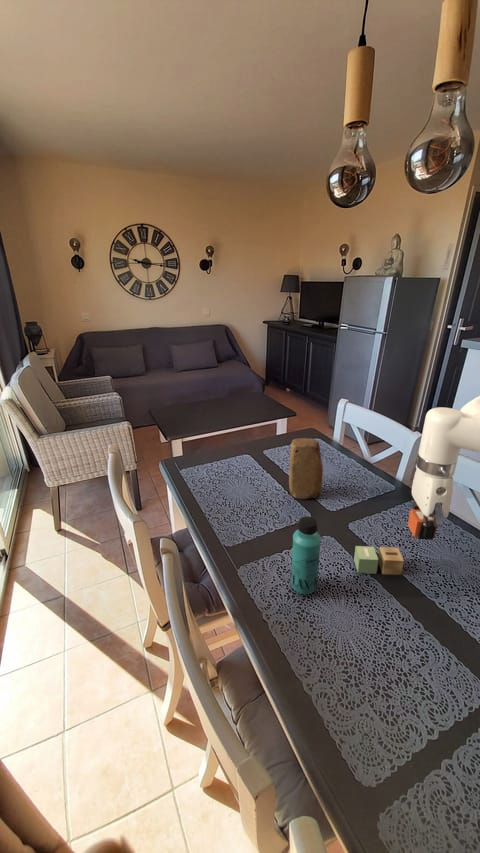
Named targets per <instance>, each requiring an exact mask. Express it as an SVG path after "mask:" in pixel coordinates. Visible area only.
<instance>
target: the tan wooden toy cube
mask: <svg viewBox="0 0 480 853" xmlns="http://www.w3.org/2000/svg"><path fill="white" fill-rule="evenodd" d="M378 548H379V549H378V555H377V557H378V567H379V569H380V572H381V574H382V575H391V576H393V575H394V576H402V573H403V569H404V568H403V567H404V563H405V561H404V560H405V559H404V558H403V554H402V553H401V551H400V549H399V547H392V546H391V547H390V546H379V547H378Z"/></svg>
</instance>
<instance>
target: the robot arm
mask: <svg viewBox="0 0 480 853" xmlns="http://www.w3.org/2000/svg"><path fill="white" fill-rule="evenodd" d="M461 449H464V450H467V451H471V452H476V453H479V454H480V395H479V396H477V397H475V398H473V399H471V400H470V401H468V402H467V403H466V404H465V405H463V406H462V407H461V408H460V410H458V409H455V408H451V407H441V406H439V407H438V406H437V407H433V408H431V409H429V410H428V411H426V414H425V417H424V421H423V427H422V432H421V438H420V443H419V447H418V454H417V459H416V463H415V468H416V470H415V472H414V476H413V480H412V486H411V496H412V499H413V503H412V509H413V510H421V511H422V513H423V514H424V516H423V524H421V525H420V530H419V535H418V539H419V540H430V541H431V540H434V539H435V538H434V534H435V530H436V527H437V528H439V527H440V528H442V527H443V525H444V522H443V518H444V519H447V518H448V517H449V514H450V510H451V505H452V499H453V491H454V478H453V477H454V475H455V472H456V467H457V464H458V459H459V456H460V451H461ZM428 517H434V518H433V520H430V521H428ZM436 531H437V530H436Z"/></svg>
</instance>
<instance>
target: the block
mask: <svg viewBox="0 0 480 853" xmlns="http://www.w3.org/2000/svg"><path fill="white" fill-rule="evenodd" d="M289 454H290V455H289V468H288V485H289V486H288V487H289V494H290V495H291V496H292V497H293V498H294V499H297V500H298V499H299V500H308V499H315V498H317V497H319V496H320V495H321V493H322V487H323V477H324V476H323V475H324V465H323V460H322V454H321V446H320V442H319V441H317V440H316V439H314V438H306V437H300V438H294V439H293V440H291V444H290V453H289Z"/></svg>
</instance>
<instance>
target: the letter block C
mask: <svg viewBox="0 0 480 853" xmlns="http://www.w3.org/2000/svg"><path fill="white" fill-rule="evenodd" d="M423 516H424V514H423V513H422V511H421V510H413V508H412V509H410V511H409V516H408V520H407V526H408V528H409V531H410V532H411V535H412V536H413V538H415V539H416V538H418V535H419V530H420V525H421V524H423ZM433 518H434V517H428V521H430V520H433ZM437 530H438V527H436V530H435V534H434V538H433V539H435V538H436V534H437ZM418 539H419V538H418Z"/></svg>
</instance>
